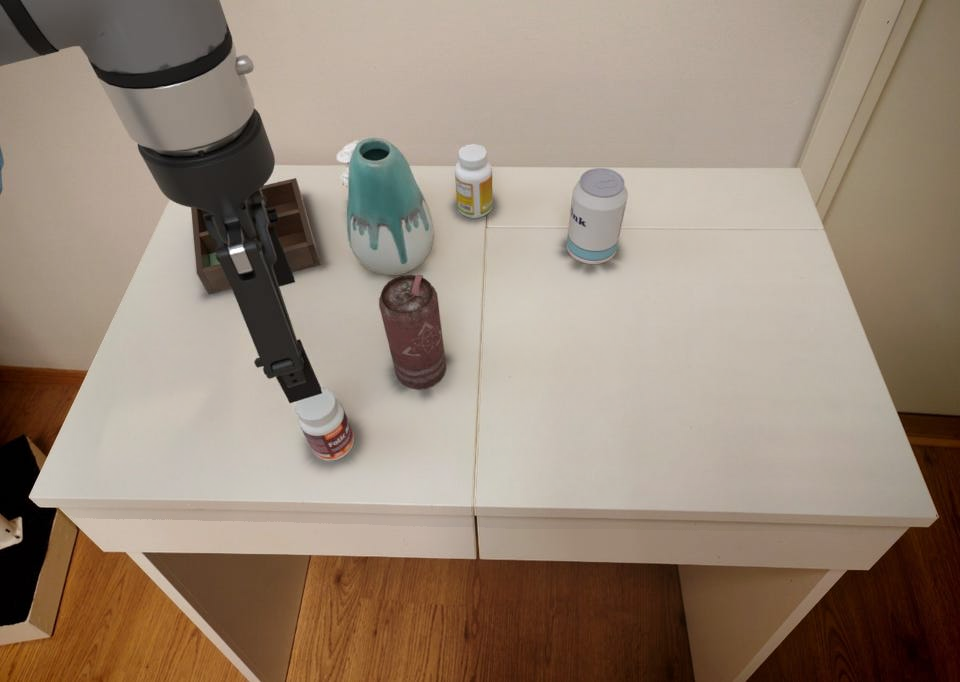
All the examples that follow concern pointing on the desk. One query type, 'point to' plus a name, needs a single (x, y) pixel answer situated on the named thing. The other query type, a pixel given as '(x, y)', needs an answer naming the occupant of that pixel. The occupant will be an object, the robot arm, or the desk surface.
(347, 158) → the flower shoulder figurine
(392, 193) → the vase
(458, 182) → the supplement bottle
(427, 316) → the red cylinder
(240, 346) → the desk surface
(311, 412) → the pill bottle
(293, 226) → the holder
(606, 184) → the beverage can
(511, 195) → the desk surface
